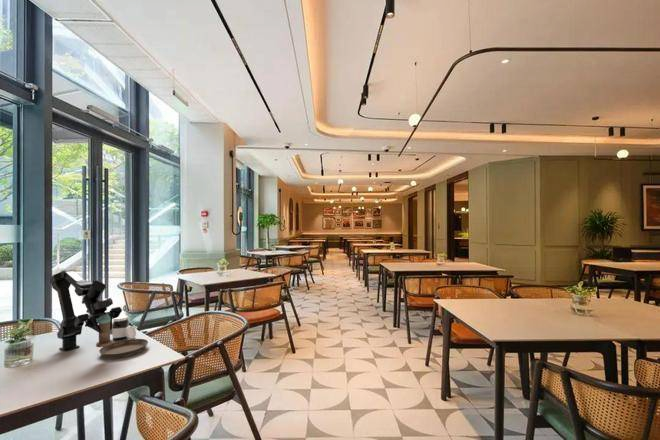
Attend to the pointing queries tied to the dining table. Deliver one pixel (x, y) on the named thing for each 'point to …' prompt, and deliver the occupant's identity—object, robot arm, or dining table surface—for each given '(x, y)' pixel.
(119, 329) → the spread jar
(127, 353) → the plant saucer
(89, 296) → the robot arm
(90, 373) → the dining table surface
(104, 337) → the bead column
